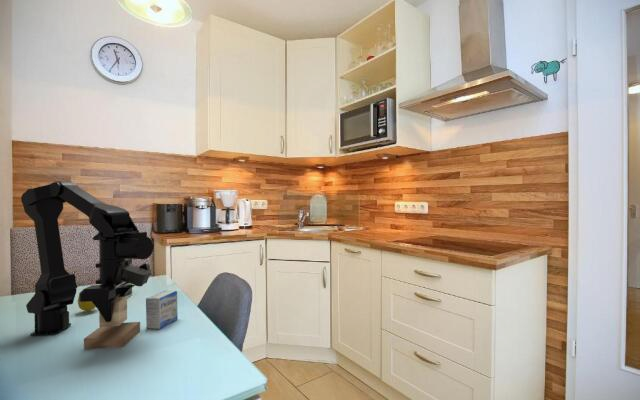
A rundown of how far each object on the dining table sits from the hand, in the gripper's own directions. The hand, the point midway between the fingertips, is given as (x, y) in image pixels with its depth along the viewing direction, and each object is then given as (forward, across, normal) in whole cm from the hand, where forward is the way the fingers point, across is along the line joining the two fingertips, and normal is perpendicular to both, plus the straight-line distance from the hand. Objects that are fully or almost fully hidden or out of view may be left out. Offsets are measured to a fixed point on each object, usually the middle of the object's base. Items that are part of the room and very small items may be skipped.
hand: (113, 318), depth 80 cm
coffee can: (+6, +39, +17) cm, 43 cm away
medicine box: (+6, +9, -9) cm, 14 cm away
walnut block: (+6, 0, 0) cm, 6 cm away
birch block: (+1, 0, 0) cm, 1 cm away
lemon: (+6, +23, +18) cm, 30 cm away
